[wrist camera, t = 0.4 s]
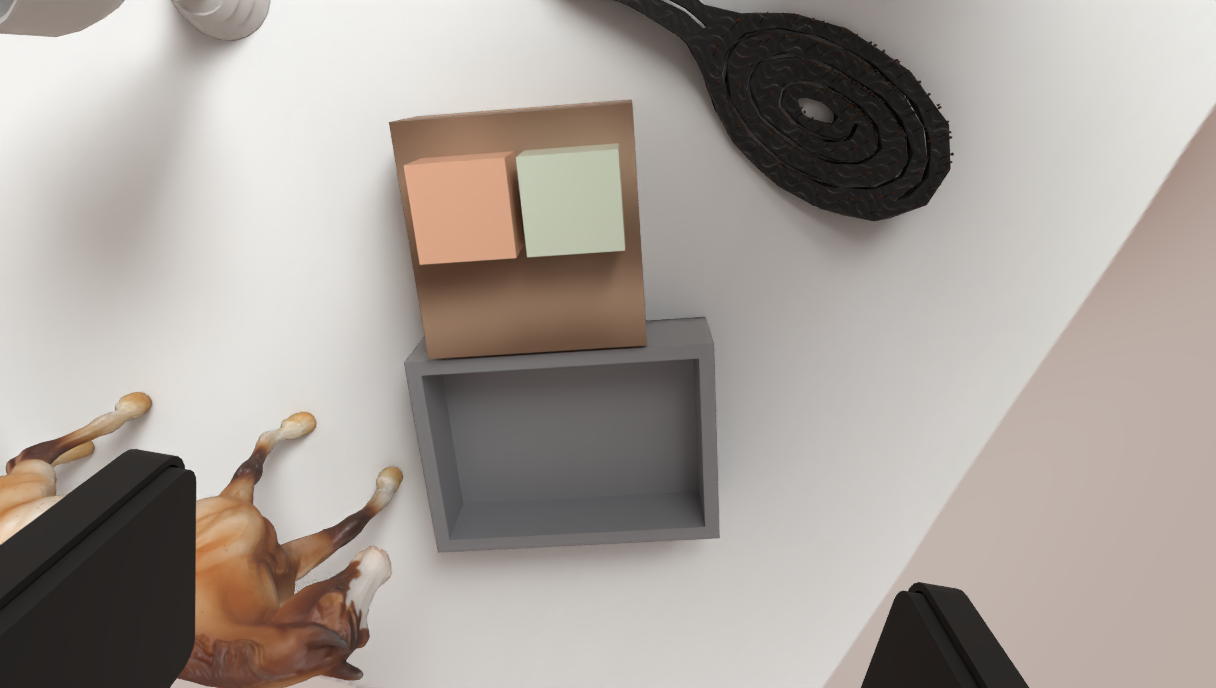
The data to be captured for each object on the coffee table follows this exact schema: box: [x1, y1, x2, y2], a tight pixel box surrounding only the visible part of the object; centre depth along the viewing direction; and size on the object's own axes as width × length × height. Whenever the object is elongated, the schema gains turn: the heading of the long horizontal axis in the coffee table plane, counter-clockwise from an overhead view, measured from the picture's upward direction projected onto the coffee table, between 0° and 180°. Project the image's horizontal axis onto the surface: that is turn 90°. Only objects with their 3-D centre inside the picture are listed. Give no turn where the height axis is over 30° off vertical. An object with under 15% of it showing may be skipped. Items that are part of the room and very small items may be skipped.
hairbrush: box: [616, 0, 954, 221], centre depth 38 cm, size 8×4×25 cm
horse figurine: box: [0, 392, 403, 688], centre depth 37 cm, size 31×8×21 cm, turn 82°
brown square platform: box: [389, 100, 647, 359], centre depth 40 cm, size 12×12×5 cm
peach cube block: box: [404, 151, 525, 265], centre depth 35 cm, size 4×4×3 cm
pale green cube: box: [516, 143, 625, 257], centre depth 35 cm, size 4×4×3 cm
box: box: [404, 317, 720, 552], centre depth 44 cm, size 12×16×4 cm
